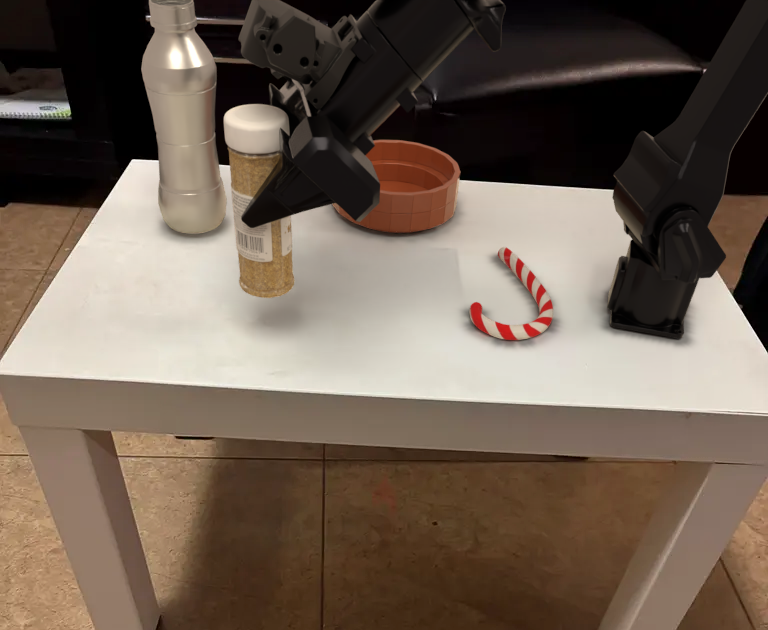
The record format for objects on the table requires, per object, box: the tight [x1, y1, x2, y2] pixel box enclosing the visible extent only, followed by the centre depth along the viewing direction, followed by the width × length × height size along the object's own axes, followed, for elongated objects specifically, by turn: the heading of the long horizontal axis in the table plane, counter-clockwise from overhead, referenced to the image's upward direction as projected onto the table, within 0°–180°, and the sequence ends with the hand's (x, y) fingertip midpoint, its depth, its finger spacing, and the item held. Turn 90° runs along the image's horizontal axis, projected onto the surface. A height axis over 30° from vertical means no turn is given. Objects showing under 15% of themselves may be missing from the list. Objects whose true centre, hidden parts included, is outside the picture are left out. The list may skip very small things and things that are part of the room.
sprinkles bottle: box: [223, 103, 296, 299], centre depth 62 cm, size 5×5×13 cm
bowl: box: [331, 139, 462, 234], centre depth 87 cm, size 13×13×4 cm
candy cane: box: [469, 246, 554, 341], centre depth 77 cm, size 8×1×15 cm
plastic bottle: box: [140, 0, 228, 235], centre depth 76 cm, size 6×7×20 cm
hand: (243, 208), depth 62 cm, fingers closed on sprinkles bottle, 4 cm apart
